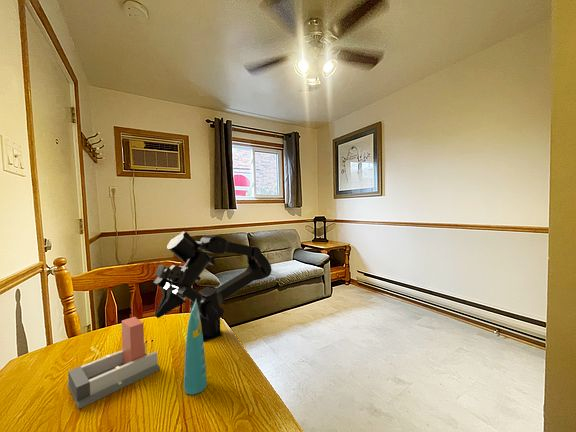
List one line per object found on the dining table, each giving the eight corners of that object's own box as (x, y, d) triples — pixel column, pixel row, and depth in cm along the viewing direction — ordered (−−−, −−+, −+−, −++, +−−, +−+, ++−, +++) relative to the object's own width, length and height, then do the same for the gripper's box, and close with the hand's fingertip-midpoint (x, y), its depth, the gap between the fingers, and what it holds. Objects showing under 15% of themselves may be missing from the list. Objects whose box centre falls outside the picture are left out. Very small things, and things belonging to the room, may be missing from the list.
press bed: (142, 354, 70) (142, 339, 70) (159, 369, 63) (158, 353, 63) (67, 385, 58) (67, 368, 58) (78, 409, 51) (77, 389, 51)
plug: (135, 357, 66) (134, 316, 66) (144, 365, 63) (143, 322, 62) (123, 362, 64) (121, 320, 64) (131, 371, 60) (130, 327, 60)
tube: (207, 395, 54) (205, 308, 53) (183, 401, 52) (180, 312, 52) (206, 374, 61) (204, 297, 60) (185, 379, 59) (182, 300, 59)
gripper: (159, 250, 77) (119, 295, 69) (190, 257, 65) (146, 312, 57) (184, 270, 83) (151, 313, 75) (216, 279, 72) (181, 332, 63)
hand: (156, 317), depth 68 cm, fingers closed
